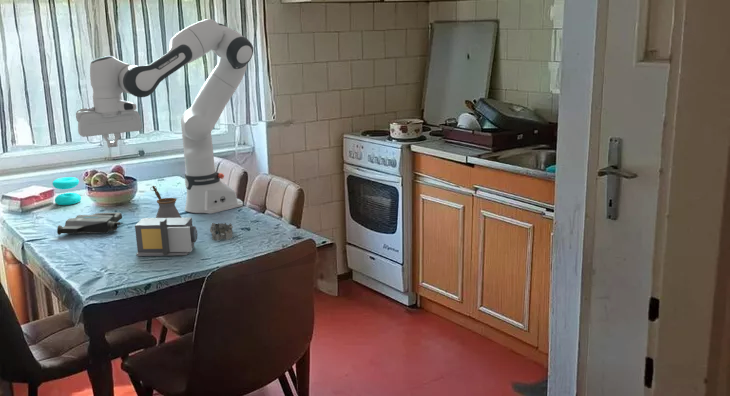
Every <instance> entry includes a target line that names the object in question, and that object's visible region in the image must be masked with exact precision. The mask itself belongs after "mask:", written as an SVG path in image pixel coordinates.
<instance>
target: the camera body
mask: <svg viewBox="0 0 730 396" xmlns="http://www.w3.org/2000/svg"><path fill="white" fill-rule="evenodd" d="M162 219H166V220H167V227H190V235H191V246H192V250H193V249H194V248H195V243H196V242H197V239H198V230H197V227H196V226H195V225H193V217H182V218H156V217H143V218H142V219H140V220H139V221H138V222H137V223H136V224H134V230H135V231H134V232H135V238H136V239H135V240H136V241H135V242H136V250H137V252H136V253H135V256H137V257H142V256H143V257H146V256H147V257H148V256H150V257H152V256H155V257H157V256H165V257H166V255H163V249H162V239H161V229H160V221H161V220H162ZM190 253H191V252H169V254H168V255H167V256H188V255H189V254H190Z"/></svg>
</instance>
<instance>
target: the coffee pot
mask: <svg viewBox="0 0 730 396" xmlns="http://www.w3.org/2000/svg"><path fill="white" fill-rule="evenodd" d="M150 190H151V191H153V192H154V194H155V196H156V197H157V200H156V203H157V205H158V210H157V213H156V215H155V218H183V217H182V216H181V214H180V212H179V211H178V209H177V207H176V202H177V200H178V199H177V198H176V197H175V198H174V197H164V198H162V196H161V194H160V192H159V191H158V189H157V186H155V185H152V186H151V187H150Z"/></svg>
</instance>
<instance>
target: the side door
mask: <svg viewBox="0 0 730 396" xmlns="http://www.w3.org/2000/svg"><path fill="white" fill-rule="evenodd" d="M160 229H161V239H162V249H163V255H165V256H169V255H168V254H169V252H190V253H191V252H192V251H193V249H192V246H191V235H190V227H167V220H166V219H162V220H161V221H160Z"/></svg>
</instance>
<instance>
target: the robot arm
mask: <svg viewBox="0 0 730 396" xmlns="http://www.w3.org/2000/svg"><path fill="white" fill-rule="evenodd" d="M253 46H254V45H253V44H252V42H251V41H250V40H249V39H248V38H247V37H245V36H244V35H242V34H241V33H240V32H238V31H236V30H235V29H233V28H230V27H228V26H226V25H225V24H223V23H219V22H217V21H215V19H212V18H205V19H203V20H200V21H197V22H195V23H192V24H191V25H189V26H187V27H185V28H183V29H182V30H180V31H179V32H177V33H176V34H175V35H174V36H173V37H172V38H171V39H170V41H169V50H168V51H167V52H166V53H165V54H164V55H162V56H161V57H159V58H157V59H155V60H154V61H152V62H151V63H150V64H145V65H133V64H131V63H130V64H129V63H128V62H127V63H126V62H123V61H121V60H119V59H117V58H116V57H114V56H113V55H105V56H99V57H96V58H94V59H93V60H91V62H90V65H89V77H90V78H89V79H90V86H91V88H92V104H93V107H87V108H85V107H81V108H80V109H78V110H77V111H76V112H75V118H76V119H75V120H76V121H77V131H78V135H80V136H81V137H83V138H86V137H95V136H102V138H103V139H104V141H106V143H107V145H106V146H107V148H115V147H118V146H119V145H118V141H119V139H120V137H121V133H123V134H125V133H131V132H133V133H134V132H140V131H141V130H142V127H143V125H142V119H141V116H140V113H139V112H138V111H137V104H136V103H134V102H131V101H129V100H128V101H127V100H123V99H122V96H121V95H122V94H123V93H125V94H129V95H132V96H134V97H136V98H145V97H149V96H150V95H152V94H153V93H154V91H155V90H156V89H157V87H158V86H159V84H161V82H163V80H165V79H167V78H168V77H169V76H171V75H172V74H174V73H175V72H176V71H178V70H180V69H181V68H182V67H184V66H185V65H189V64H190V63H192V62H194V61H196V60H198V59H200V58H202V57H203V56H205V55H206V54H209V52H213V53H214V54H215V55H216V56H217V57H219V60H218V62H217V64H216V66H215V67H214V68H213V69H212V71H211V73H210V74H209V76H208V77H207V79H206V80H205V82H204V83H203V85H202V86H201V88H200V90H199V91H198V94H197V95H196V96H195V99H194V100H193V102H192V104H191V106H190V107H189V108H187V109H186V110H184V112H183V113H182V115H181V117H180V124H181V126H180V127H181V135H182V137H181V138H182V145H183V157H184V166H185V167H184V168H185V173H184V185H185V189H186V199H185V207H184V211H186V212H188V213H192V214H193V213H194V214H216V213H219V212H223V211H227V210H232V209H236V208H239V207H243V205H244V202H243V201H242V200H241V199H240V198H238V197H237V194H236V191H235V189H234V188H232V187H231V186H230V185H229V184H227V183H225V182H223V181H222V180H223V179H224V178H225V174H224V173H222V172H217V171H216V170H215V169H216V168H215V156H214V154H215V153H214V147H213V137H212V132H213V129H214V128H215V126H216V124H217V123H218V120H219V119H220V118H221V115H222V113H223V111H224V110H225V107H226V106H227V105H228V102H229V101H230V100H231V98H232V97H233V96H234V94H235V92H236V90H237V89H238V87H239V85H240V84H241V82H242V80H243V78H244V76H245V74H246V71H247V64H249V63H250V61H251V60H252V57H253V55H254V47H253ZM110 135H114V139H113V140H112V141H110V139H109V136H110Z"/></svg>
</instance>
